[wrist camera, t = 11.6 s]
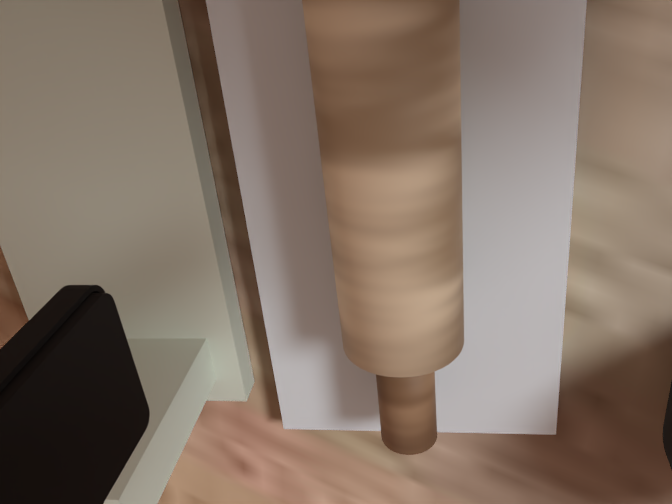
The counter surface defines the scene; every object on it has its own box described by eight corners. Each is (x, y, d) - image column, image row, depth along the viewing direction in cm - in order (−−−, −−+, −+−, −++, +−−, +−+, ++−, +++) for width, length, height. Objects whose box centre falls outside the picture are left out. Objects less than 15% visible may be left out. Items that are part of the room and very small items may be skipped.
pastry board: (608, -444, 17) (619, -468, 16) (552, 416, 31) (555, 434, 30) (154, -354, 19) (138, -368, 18) (288, 412, 33) (283, 428, 32)
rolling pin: (334, -307, 19) (221, -344, 16) (486, -362, 16) (389, -421, 13) (390, 385, 31) (332, 449, 27) (483, 419, 28) (432, 494, 25)
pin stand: (125, -263, 21) (-142, -413, 11) (254, 381, 32) (178, 575, 23) (-143, -216, 22) (-572, -311, 13) (73, 379, 34) (-68, 559, 25)
